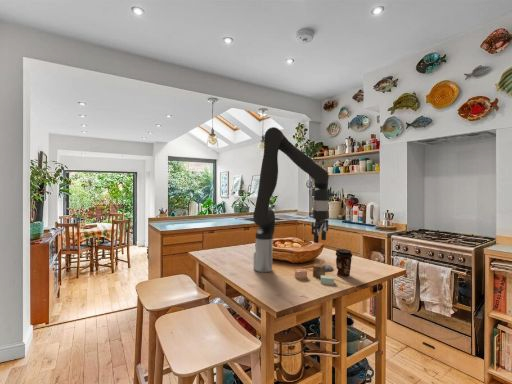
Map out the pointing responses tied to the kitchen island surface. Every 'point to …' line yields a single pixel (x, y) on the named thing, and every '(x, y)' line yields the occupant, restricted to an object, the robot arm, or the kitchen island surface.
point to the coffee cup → (343, 262)
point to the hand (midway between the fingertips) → (319, 241)
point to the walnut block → (318, 270)
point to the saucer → (328, 267)
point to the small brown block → (301, 274)
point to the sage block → (327, 280)
